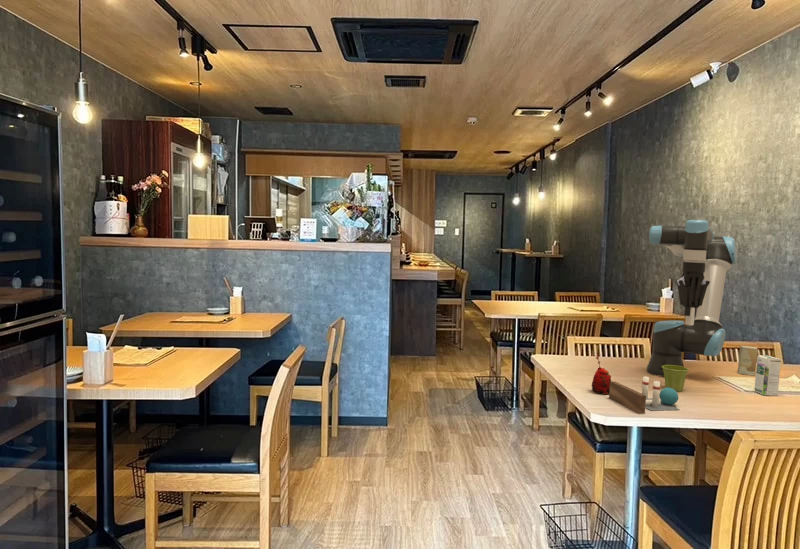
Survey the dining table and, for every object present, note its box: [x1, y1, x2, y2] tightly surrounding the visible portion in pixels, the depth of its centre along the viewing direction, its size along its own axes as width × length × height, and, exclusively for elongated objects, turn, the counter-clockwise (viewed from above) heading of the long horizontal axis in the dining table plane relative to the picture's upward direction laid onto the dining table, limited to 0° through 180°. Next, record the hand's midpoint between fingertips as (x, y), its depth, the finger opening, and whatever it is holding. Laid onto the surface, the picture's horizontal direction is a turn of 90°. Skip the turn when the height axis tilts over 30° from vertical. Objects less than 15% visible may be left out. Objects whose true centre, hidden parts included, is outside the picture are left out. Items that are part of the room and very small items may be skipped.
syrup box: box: [753, 354, 782, 397], centre depth 215 cm, size 6×6×14 cm
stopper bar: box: [608, 380, 646, 415], centre depth 193 cm, size 2×18×6 cm, turn 11°
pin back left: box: [651, 380, 661, 408], centre depth 191 cm, size 2×2×9 cm
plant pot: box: [662, 365, 690, 392], centre depth 216 cm, size 9×9×9 cm
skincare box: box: [737, 345, 758, 377], centre depth 248 cm, size 6×4×12 cm
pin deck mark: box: [645, 397, 681, 412], centre depth 195 cm, size 11×13×1 cm
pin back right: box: [641, 375, 650, 400], centre depth 197 cm, size 2×2×9 cm
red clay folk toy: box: [591, 352, 612, 395], centre depth 208 cm, size 8×7×15 cm
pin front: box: [645, 399, 661, 406], centre depth 193 cm, size 2×2×9 cm
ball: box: [659, 387, 679, 406], centre depth 195 cm, size 6×6×6 cm
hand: (689, 324), depth 209 cm, fingers closed
